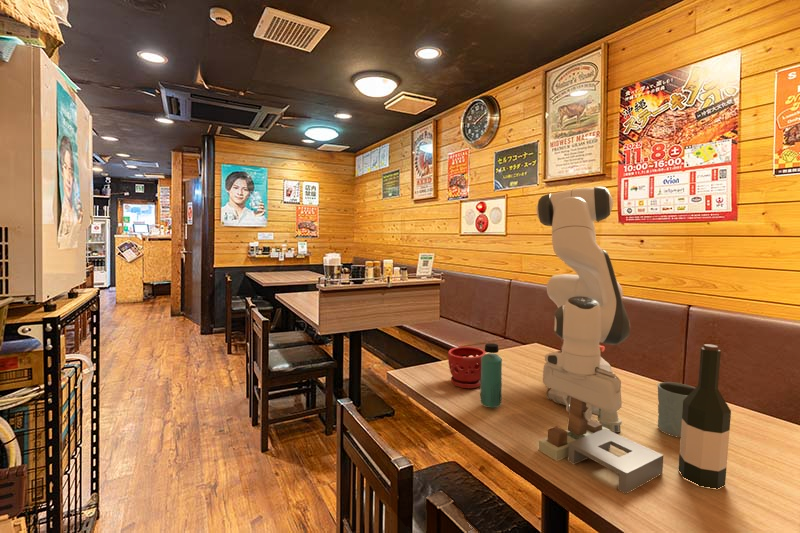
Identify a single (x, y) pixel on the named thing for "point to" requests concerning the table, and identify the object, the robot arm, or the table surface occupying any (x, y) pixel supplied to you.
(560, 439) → the pin medium
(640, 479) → the hole bridge
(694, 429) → the wine bottle
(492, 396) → the beverage bottle
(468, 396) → the table surface
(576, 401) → the pin long
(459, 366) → the plant pot
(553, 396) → the beige long piece
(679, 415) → the grey cup
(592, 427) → the pin short
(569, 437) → the peg rack
